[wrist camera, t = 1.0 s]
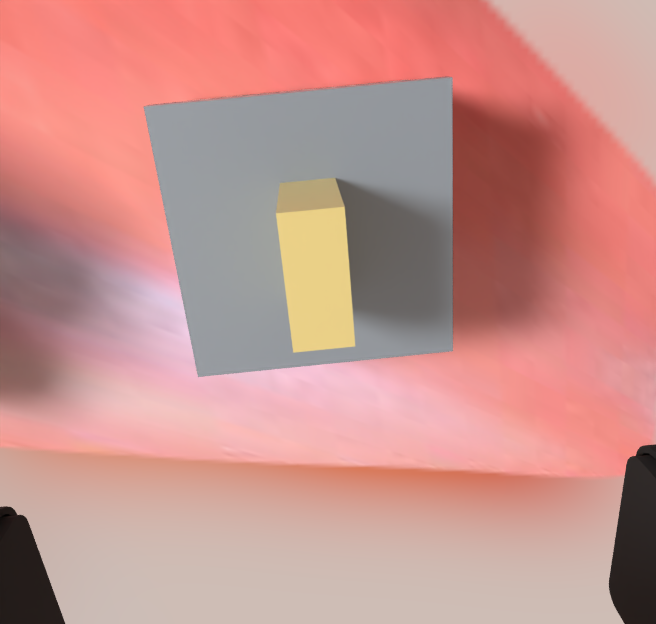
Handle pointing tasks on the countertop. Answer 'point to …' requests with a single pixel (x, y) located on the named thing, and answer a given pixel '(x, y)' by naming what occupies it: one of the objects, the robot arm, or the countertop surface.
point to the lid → (311, 223)
